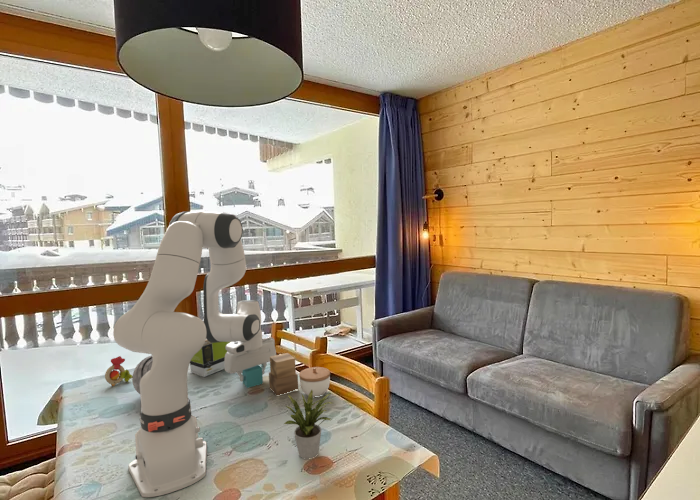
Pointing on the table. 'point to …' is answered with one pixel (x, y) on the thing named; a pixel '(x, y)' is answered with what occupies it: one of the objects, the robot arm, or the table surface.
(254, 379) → the teal block
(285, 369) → the block
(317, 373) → the lidded jar
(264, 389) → the table surface
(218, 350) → the tea box
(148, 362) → the decorative orb
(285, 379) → the tower bottom
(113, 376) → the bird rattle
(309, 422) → the house plant
